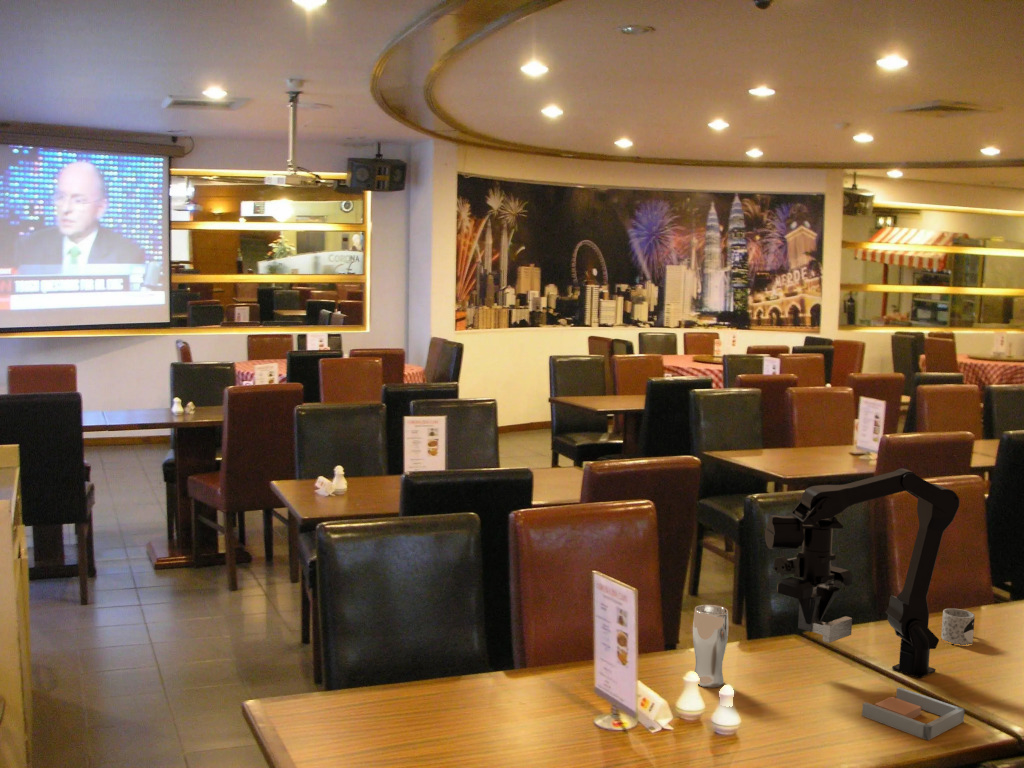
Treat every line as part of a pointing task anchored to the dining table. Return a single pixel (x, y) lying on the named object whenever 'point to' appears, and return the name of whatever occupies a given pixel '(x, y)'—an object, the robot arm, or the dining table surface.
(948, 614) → the mug
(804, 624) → the grey angular piece
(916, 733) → the corral
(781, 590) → the robot arm
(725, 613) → the beer glass
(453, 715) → the dining table surface
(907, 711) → the terracotta tile
